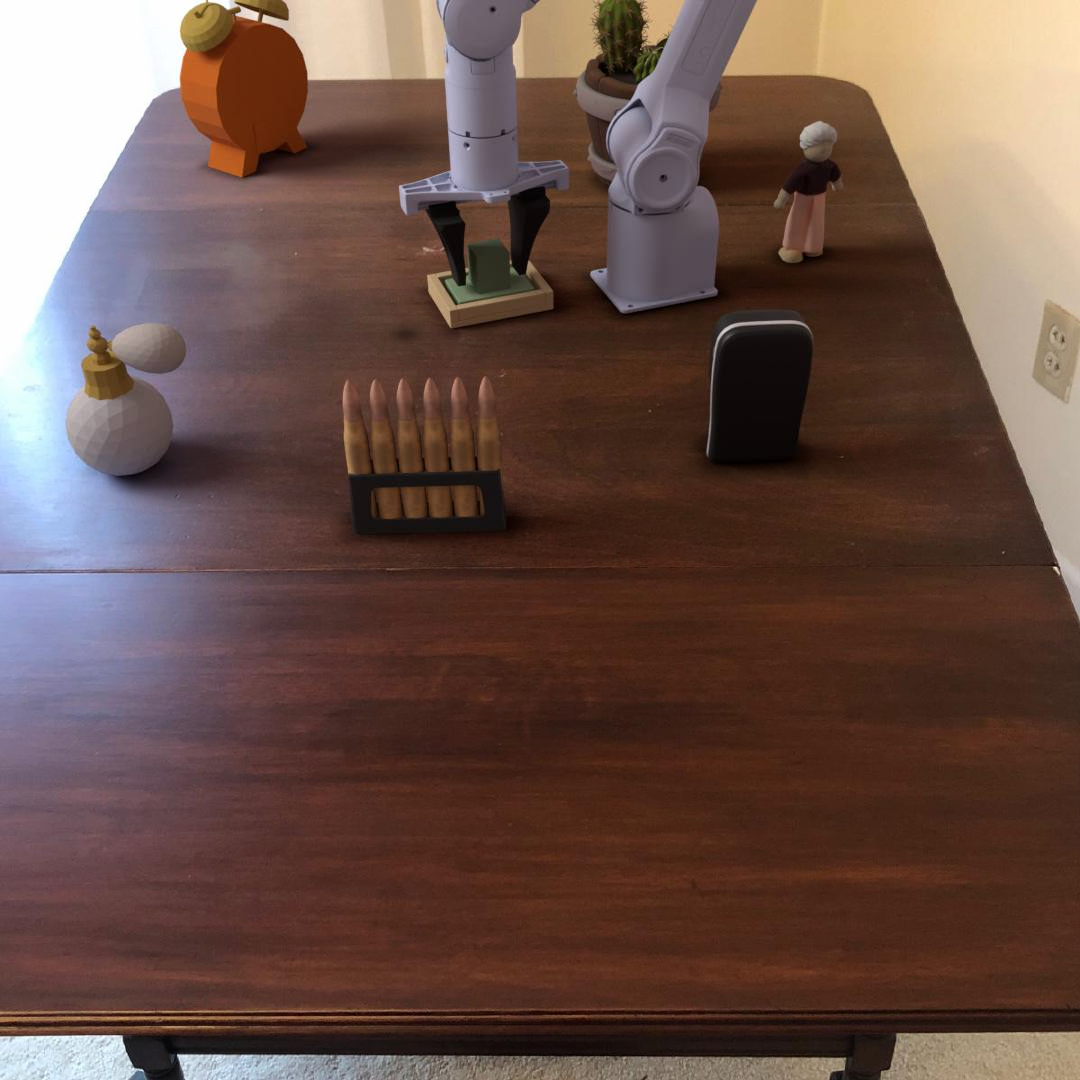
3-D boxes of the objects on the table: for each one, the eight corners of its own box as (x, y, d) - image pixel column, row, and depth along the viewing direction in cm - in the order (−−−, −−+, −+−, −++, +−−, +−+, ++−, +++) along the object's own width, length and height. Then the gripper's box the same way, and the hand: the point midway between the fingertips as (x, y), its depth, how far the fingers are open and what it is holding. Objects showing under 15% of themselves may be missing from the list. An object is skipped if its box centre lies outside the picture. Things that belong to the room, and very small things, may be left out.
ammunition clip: (352, 534, 85) (331, 388, 77) (355, 517, 87) (334, 372, 79) (506, 530, 85) (500, 384, 78) (506, 513, 87) (500, 368, 79)
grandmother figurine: (793, 272, 114) (811, 139, 106) (762, 258, 116) (777, 127, 108) (845, 247, 118) (866, 116, 110) (813, 233, 120) (831, 105, 112)
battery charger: (788, 432, 94) (807, 299, 87) (799, 462, 91) (820, 326, 84) (698, 436, 94) (709, 303, 86) (706, 466, 91) (718, 330, 83)
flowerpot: (736, 165, 133) (754, -31, 120) (670, 218, 123) (683, 10, 110) (620, 139, 139) (625, -50, 126) (548, 187, 129) (547, -13, 117)
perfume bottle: (80, 442, 94) (37, 303, 86) (208, 423, 96) (178, 285, 88) (77, 500, 88) (31, 357, 81) (214, 478, 90) (181, 336, 83)
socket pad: (527, 274, 114) (526, 256, 113) (553, 309, 109) (553, 291, 108) (428, 292, 112) (427, 274, 111) (450, 329, 107) (449, 310, 106)
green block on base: (518, 276, 113) (517, 230, 110) (534, 298, 109) (534, 251, 106) (445, 289, 111) (442, 243, 108) (460, 312, 108) (457, 265, 105)
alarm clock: (279, 131, 142) (251, -54, 129) (318, 143, 139) (293, -46, 127) (193, 170, 134) (153, -24, 121) (232, 183, 131) (196, -14, 118)
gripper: (410, 156, 95) (423, 310, 104) (582, 129, 99) (581, 281, 108) (387, 124, 101) (401, 274, 109) (552, 100, 104) (553, 247, 113)
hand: (489, 275), depth 109 cm, fingers open, 5 cm apart
